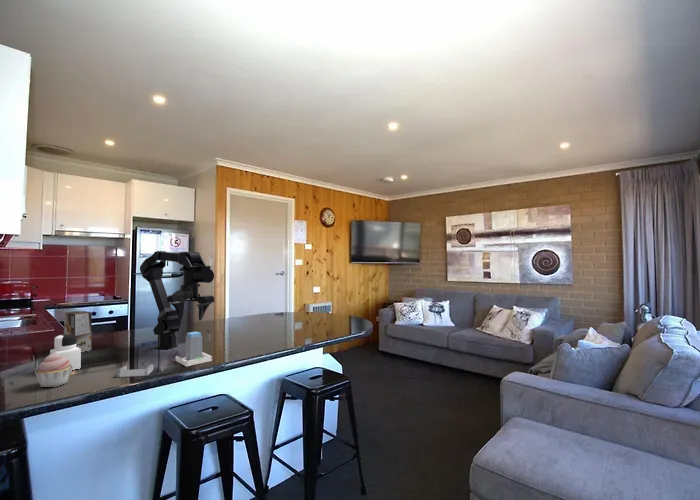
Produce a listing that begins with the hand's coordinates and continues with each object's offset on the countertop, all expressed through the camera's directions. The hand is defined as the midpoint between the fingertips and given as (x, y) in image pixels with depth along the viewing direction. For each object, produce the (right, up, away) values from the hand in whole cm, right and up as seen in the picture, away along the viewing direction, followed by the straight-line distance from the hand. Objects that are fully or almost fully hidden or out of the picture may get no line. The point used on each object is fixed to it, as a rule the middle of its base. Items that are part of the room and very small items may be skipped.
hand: (190, 319), depth 149 cm
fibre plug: (+7, -12, -13) cm, 19 cm away
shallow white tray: (-6, -13, -28) cm, 31 cm away
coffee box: (-46, -13, 0) cm, 48 cm away
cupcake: (-25, -13, -38) cm, 47 cm away
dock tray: (+7, -13, -13) cm, 20 cm away
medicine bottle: (-33, -13, -24) cm, 43 cm away
